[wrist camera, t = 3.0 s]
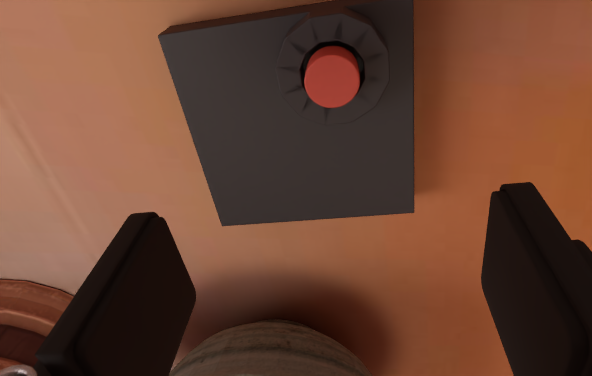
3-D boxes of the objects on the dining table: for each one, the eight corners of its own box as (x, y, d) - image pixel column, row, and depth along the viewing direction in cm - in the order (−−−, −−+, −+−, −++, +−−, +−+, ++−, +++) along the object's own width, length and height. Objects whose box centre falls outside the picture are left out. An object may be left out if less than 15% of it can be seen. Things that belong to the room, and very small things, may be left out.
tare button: (302, 49, 20) (300, 58, 19) (356, 41, 20) (357, 51, 18) (310, 99, 21) (308, 111, 20) (360, 93, 21) (362, 105, 20)
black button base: (169, 25, 23) (144, 42, 20) (408, -13, 21) (418, 1, 18) (227, 209, 30) (216, 242, 27) (410, 195, 28) (418, 229, 25)
